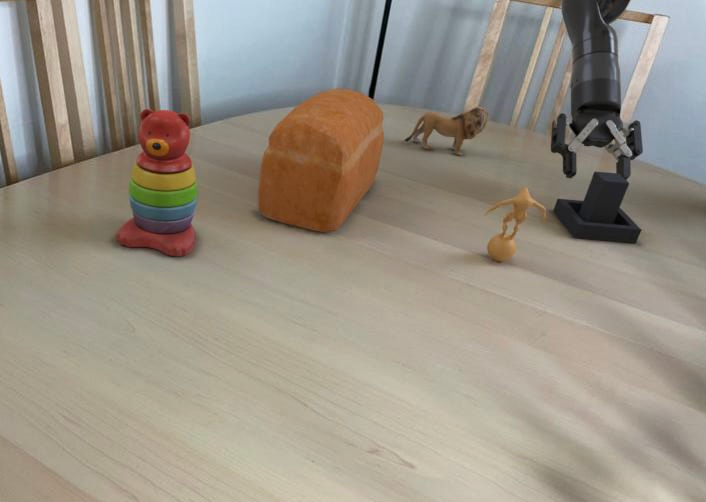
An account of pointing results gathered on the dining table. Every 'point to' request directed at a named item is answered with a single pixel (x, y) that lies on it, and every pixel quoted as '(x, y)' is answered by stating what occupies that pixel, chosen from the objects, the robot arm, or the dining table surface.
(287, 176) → the bread
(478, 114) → the lion figurine
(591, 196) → the pad block
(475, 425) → the dining table surface
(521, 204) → the figurine
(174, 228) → the stacking bear
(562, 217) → the black square tray
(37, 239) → the dining table surface
